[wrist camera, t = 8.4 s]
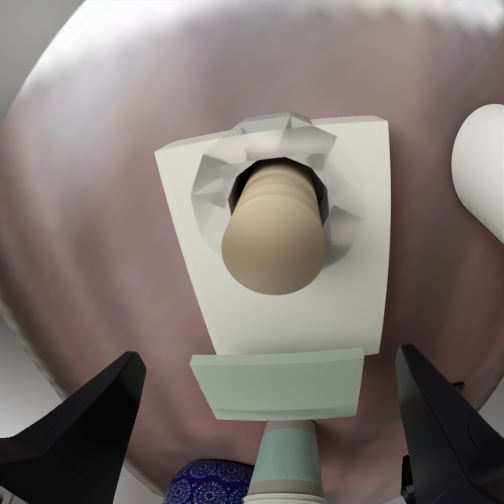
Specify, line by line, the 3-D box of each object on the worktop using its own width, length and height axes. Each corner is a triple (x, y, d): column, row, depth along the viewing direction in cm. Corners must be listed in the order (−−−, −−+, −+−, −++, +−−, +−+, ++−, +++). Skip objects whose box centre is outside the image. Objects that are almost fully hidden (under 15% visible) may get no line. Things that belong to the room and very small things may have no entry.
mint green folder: (347, 345, 25) (355, 415, 19) (231, 352, 27) (216, 419, 21) (349, 283, 22) (364, 357, 16) (213, 294, 24) (189, 364, 17)
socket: (372, 326, 23) (378, 353, 21) (226, 336, 26) (219, 363, 23) (371, 105, 16) (386, 109, 13) (171, 132, 18) (151, 141, 15)
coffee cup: (299, 445, 35) (293, 526, 25) (241, 428, 34) (226, 515, 24) (341, 420, 31) (344, 514, 21) (279, 400, 30) (268, 506, 19)
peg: (316, 214, 19) (328, 291, 13) (253, 220, 20) (232, 298, 13) (309, 152, 18) (322, 198, 11) (242, 160, 18) (211, 211, 11)
